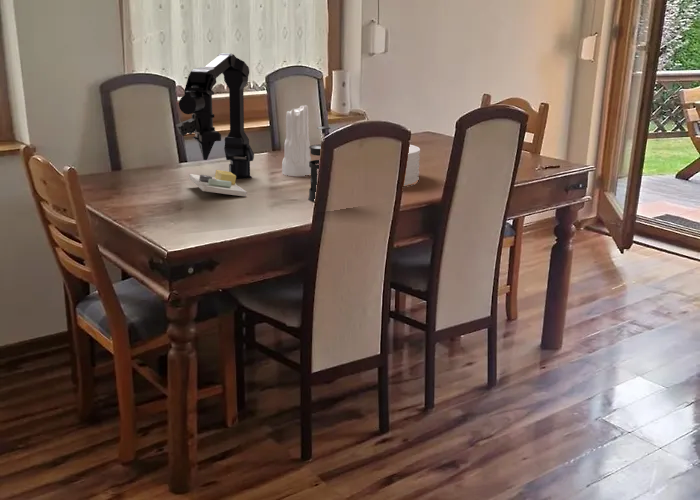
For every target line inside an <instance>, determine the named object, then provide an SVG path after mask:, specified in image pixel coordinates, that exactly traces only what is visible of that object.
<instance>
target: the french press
mask: <svg viewBox="0 0 700 500" xmlns="http://www.w3.org/2000/svg"><path fill="white" fill-rule="evenodd" d="M316 128H317V129H318V130H321V133H322V140H323V139H324V140H325V134H326V130H330V129H331V127H330V126H323V125H322V126H317V127H316ZM309 148H310V155H312V156H319V157H320V149H321V144H312V145H311V144H310V146H309ZM319 160H320V159H313V160H311V161H310V162H309V167H311V175H310V179H309V181H310V187H309V189H308V190H309V191H308V196H309V197H308V201H309V202H313V203H315V202H314V199H315V192H316V185H317V186H318V184H317V177H318V170H320V169H319V165H320V164H319Z"/></svg>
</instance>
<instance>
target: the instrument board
mask: <svg viewBox="0 0 700 500" xmlns="http://www.w3.org/2000/svg"><path fill="white" fill-rule="evenodd" d="M188 179H189V181H191V182H192V183H193V184H194V185H195V186H197V187H198V188H199V189H200V190H201V191H202V192H207V193H217V194H223V195H229V196H230V195H232V196H239V197H247V194H248V191H247V190H245V189H243V188H242V187H241V186H239V185H238V184H237V183H236V182H237V181H236V180H237V179H236V175H234V174H233V173H231V172H229V171H226V170H219V169H216V170H215V174H214V177H213V176H211V175H208V174H207V175H206V174H200V175H199V174H193V173H189V174H188Z"/></svg>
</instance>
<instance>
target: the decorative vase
mask: <svg viewBox="0 0 700 500" xmlns="http://www.w3.org/2000/svg"><path fill="white" fill-rule="evenodd" d="M308 106H309V105H308V104H304V105H299V107H298V108H295V107H292V108H291V110H287V111H286V115H285V126H286V127H285V140H284V157H283V158H282V161H281V162H282V163H281V174H282V175H283V174H284V175H283V176H287V175H288V176H287V177H306V176H305V175H309V174H311V167H309V162H310V161H312V157H311V149H310V148H309V146H311V139H310V136H309V135H310V131H309V130H310V129H309V127H310V121H309V120H310V113H309V107H308ZM309 176H310V175H309Z"/></svg>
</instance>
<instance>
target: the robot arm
mask: <svg viewBox="0 0 700 500" xmlns="http://www.w3.org/2000/svg"><path fill="white" fill-rule="evenodd" d="M221 75H223V79H224V80H223V81H224V83H225V84H226V86H227V88H228V93H229V94H228V95H229V96H228V97H229V98H228V99H229V100H228V101H229V133H228V134H227V136H225V138H224V148H223V149H224V154H225V159H226V161H229V162H230V163H228V172H231V173H233V174H234V175H236V180H241V179H251V178H252V176H251V162H253V161H254V158H255V153H254V151H253V149H252V147H251V145H250V139H249V137H248V135H247V134H246V132H245V113H244V112H245V111H244V110H245V105H244V104H245V103H244V99H245V97H244V93H245V92H244V89H245V87H246V85H247V84H248V81H249V76H250V67H249V66H248V64H247V63H246V62H245V61H243V59H240V58H238V57H237V56H236V55H235V54H234V53H227V52H224V53H223V52H221V53H218V55H217V56H216V57H215V58H214V59H213V60H211V61H210V62H209V63H208V64H206V65H205V66H202V67H201V66H200V67H195V68H193V69H192V70H190V71H189V74H188V78H187V80H186V84H185V87H184V92H183V93H184V95H182V96H181V98H180V99H179V101H178V107H179V109H180V112H182V113H184V114H185V115H191V118H189V119H185V120H183V121H182V122H179V123H177V124H175V127H176V130H177V132H178V134H179V135H181V137H184V136H187V134H189V135H192V134H194V136H193V137H192V139H194V141H196V142H197V143H198V147H199V149H200V153H201V157H202V160H204V161H207V160H208V158H209V156H210V154H211V151H212V149H213V146H214V144H215V142H221V141H222V134H221V133H220V132H219V131H217V130H216V128H215V127H214V118H215V113H213V95H215V92H214V91H213V88H214V86H216V84H217V78H218V77H220V76H221Z"/></svg>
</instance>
